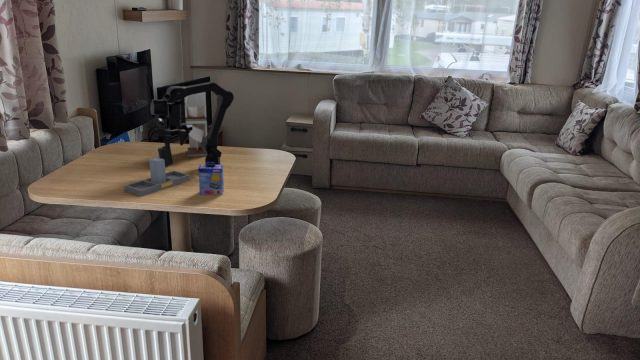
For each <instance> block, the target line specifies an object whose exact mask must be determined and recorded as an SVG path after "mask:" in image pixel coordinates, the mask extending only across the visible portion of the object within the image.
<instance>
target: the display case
mask: <svg viewBox="0 0 640 360" xmlns="http://www.w3.org/2000/svg"><path fill="white" fill-rule="evenodd" d="M206 95H207V93H206V92H203V93H198V94H193V95H189V96H187V97H185V98H183V99H184V103H185V105H184V112H185V113H184V114H185V115H184V117H185V123H186V124H191V125H192V131H191V132H190V133H189V134H188V141H189V142H188V143H189V146H188V147H187V150H186V151H187V152H186V153H187V157H206V155H207V154H205V152H204V151H203V150H202V148H201V144H200V143H201V142H202V137H203V136H204V137H206V136H207V135H208V122H207V100H206V98H207V97H206Z"/></svg>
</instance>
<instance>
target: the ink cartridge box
mask: <svg viewBox="0 0 640 360" xmlns="http://www.w3.org/2000/svg"><path fill="white" fill-rule="evenodd" d="M209 163H211V164H209ZM198 183H199V184H198V187H199V188H198V189H199V196H200V195H201V196H223V194H224V192H225V188H224V187H225V186H224V185H225V183H224V165H223V164H220V165H215V163H214V162H206V165H205V164H200V165H199V167H198Z"/></svg>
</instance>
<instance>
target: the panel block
mask: <svg viewBox="0 0 640 360" xmlns="http://www.w3.org/2000/svg"><path fill="white" fill-rule="evenodd" d="M149 172H150V178H151V182H152V183H156V184H161V183H164V182H166V174H165V173H166V164H165V160H164V159H160V158H159V157H153V158H150V159H149Z"/></svg>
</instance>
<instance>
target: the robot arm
mask: <svg viewBox="0 0 640 360" xmlns="http://www.w3.org/2000/svg"><path fill="white" fill-rule="evenodd" d="M203 92H205V93H208V92H212V93H213V94H214V95H215V96H216V109H215V112H214V116H213V118H212V121H211V124H210V128H209V130H208V132H207V136H206V137H204V136H203V137H202V142H201V143H200V144H201V148H202V150H203V151H204V152H205V154H207V155H206V156H205V158H204V162H205V163H204V165H206V162H214V163H215V165H221V157H222V152H221V151H220V150H219V149H218V144H219V141H218V137H219V133H220V130H221V127H222V125H223V123H224V122H223V121H224V118H225V115H226V113H227V109H229V108H230V107H231V105H232V103H233V101H234V99H235V95H234V94H233V92H232V91H230V90H227V89H225V88H223V87H221V86H220V85H219V84H217V82H214V81H208V82H203V83H198V84H193V85H188V86H186V85H185V86H184V85H183V86H180V85H173V86H172V85H170V86H169V87H167V89H166V92H165V94H164V95H163V97H162V98H161V99H154V98H153V99H151V103H150V108H149V109H150V113H151V115H153V116H155V115H156V116H158V115H166V114H167V115H166V116H165V118H164V119H162V118H156V119H155V124H156V126H157V128H155V134H156V135H157V136H159V137H161V139H162V141H163V144H164V146H166V149H169V146H170V147H171V139H172V135H171V134H172V132H173V133H174V132H178V134H179V145H180V146H182V147H183V145H184V143H185V141H186V139H187V137H189V133H190V132H191V131H192V125H191V124H186V122H183V123H182V120H183V119H184V117H183V116H182V114H181V113H182V106H185V101H184V100H183V99H184V98H185V97H187V96H189V95H193V94H198V93H203ZM209 164H211V163H209Z"/></svg>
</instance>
